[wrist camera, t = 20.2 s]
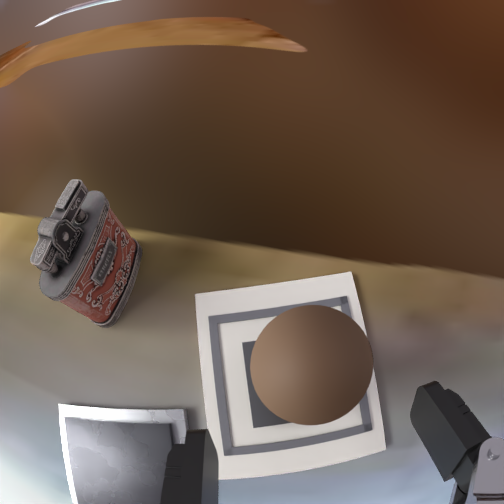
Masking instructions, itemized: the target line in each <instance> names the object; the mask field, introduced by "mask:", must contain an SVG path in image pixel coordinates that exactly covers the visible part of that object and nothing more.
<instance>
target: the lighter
mask: <svg viewBox="0 0 504 504" xmlns="http://www.w3.org/2000/svg"><path fill="white" fill-rule="evenodd" d="M38 235H39V240H38V242H37V244H36V246H35V248H34V250H33V252H32V255H31V257H30V262H31V263H32V264H33V265H35V266H36V267H37V268H39V269H40V270H42V272H41V276H40V281H39V285H40V289H41V291H42V293H43V294H44V295H46V296H47V297H49V298H50V299H52V300H55V301H60V302H62V303H64V304H65V305H67V306H69V307H70V308H72V309H74V310H76V311H77V312H79V313H81V314H83V315H84V316H86V317H88V318H89V319H90V320H91V321H92V322H93V323H95V324H96V325H98V326H100V327H104V328H106V327H110V326H112V325H114V324H115V322H116V321H117V319H118V318H119V316H120V314H121V312H122V310H123V309H124V307H125V305H126V303H127V300H128V298H129V296H130V293H131V291H132V289H133V286H134V283H135V280H136V277H137V273H138V270H139V266H140V261H141V256H142V248H141V246H140V245H139V243H138V242H137V241H136V240H135V239H134V238H131V236H130V235H129V233H128V232H127V231H126V229H125V228H124V227H123V225H122V224H121V223H120V221H119V220H118V219H117V217H116V216H115V214H114V213H113V212H112V210H111V209H110V207H109V202H108V200H107V199H106V197H105V196H104V195H103V194H102V193H101V192H99V191H90V192H88V189H87V188H86V187H85V185H84V184H83V183H82V181H81V180H71V181H70V182H69V183H68V185H67V187H66V188H65V190H64V192H63V193H62V195H61V197H60V198H59V200H58V202H57V204H56V205H55V209H54V211H53V213H52V215H51V216H50V217H48V218H47V217H45V218H43V219H42V220H41V222H40V224H39V226H38Z"/></svg>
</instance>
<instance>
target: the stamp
mask: <svg viewBox="0 0 504 504" xmlns="http://www.w3.org/2000/svg"><path fill="white" fill-rule="evenodd" d="M242 347H243V354H244V362H245V370H246V378H247V385H248V393H249V400H250V407H251V414H252V422H253V428H258V427H266V426H274V425H280V424H287V423H295V424H300V425H320V424H325V423H329V422H332V421H335V420H337V419H339V418H341V417H343V416H344V415H346V414H347V413H349V412H350V411H351V410H352V409H353V408H354V407H355V406H356V405H357V404H358V403H359V402H360V401H361V399H362V398H363V397H364V395H365V393H366V391H367V389H368V387H369V384H370V382H371V378H372V373H373V355H372V350H371V346H370V343H369V341H368V338H367V336H366V335H365V333H364V331H363V330H362V329H361V327H360V326H359V325H358V324H357V323H356V322H355V321H354V320H353V319H352V318H350V317H349V316H348V315H346V314H345V313H343V312H341V311H339V310H337V309H334V308H331V307H327V306H322V305H304V306H299V307H295V308H292V309H289V310H287V311H285V312H283V313H281V314H280V315H278V316H277V317H275V318H274V319H273V320H272V321H270V322H269V323H268V324H267V325H266V327H265V328H264V329H263V330H262V332H261V333H260V335H259V336H258V338H257V340H256V341H249V342H242Z"/></svg>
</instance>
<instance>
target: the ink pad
mask: <svg viewBox="0 0 504 504" xmlns="http://www.w3.org/2000/svg"><path fill="white" fill-rule="evenodd" d="M59 418H60V429H61V438H62V446H63V453H64V460H65V466H66V472H67V477H68V483H69V487H70V492H71V497H72V501H73V504H160V501H161V494H162V487H163V480H164V478H165V476H164V474H165V469H166V461H167V455H168V453H169V452H170V450H171V449H172V447H173V446H174V444H185V437H186V432H187V430H189V427H188V418H187V410H186V409H114V408H97V407H85V406H75V405H66V404H59Z"/></svg>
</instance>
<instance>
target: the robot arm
mask: <svg viewBox="0 0 504 504" xmlns="http://www.w3.org/2000/svg"><path fill="white" fill-rule="evenodd" d="M410 417H411V422H412V424H413V426H414V428H415V430H416V431H417V433H418V435H419V437H420V438H421V440H422V442H423V444H424V445H425V447H426V449H427V451H428V452H429V454H430V456H431V458H432V460H433V461H434V463H435V465H436V467H437V469H438V471H439V472H440V474H441V476H442V478H443V480H444V482H445V481H447V480H449V479H451V478H453V477H454V479H455V480H456V482H455V483H454V487H453V491H452V495H451V499H450V502H449V504H504V439H502V438H498V437H493V438H492V437H491V436H490V435H489V434H488V433H487V431H486V430H485V429H484V427H483V426H482V425H481V423H480V422H479V421H478V419H477V418H476V417H475V415H474V414H473V413H472V412H470V409H469V408H468V406H467V405H465V402H464V401H463V400H462V399H461V397H460V396H459V395H458V394H456V393H455V392H453V391H451V390H450V389H446V390H444V389H443V387H442V386H441V385H440V384H439V383H438V382H437V381H433V382H431V383H428V384H426V385H423V386H420V387H419V388H418V389H417V392H416V395H415V399H414V402H413V405H412V409H411V412H410ZM164 476H165V478H164V480H163V487H162V494H161V501H160V504H218V478H219V461H218V454H217V450H216V448H215V445H214V443H213V440H212V438H211V435H210V433H209V430H208V429H197V430H187V432H186V437H185V444H174V446H173V447H172V449H171V450H170V452H169V453H168V455H167V461H166V469H165V474H164Z"/></svg>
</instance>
